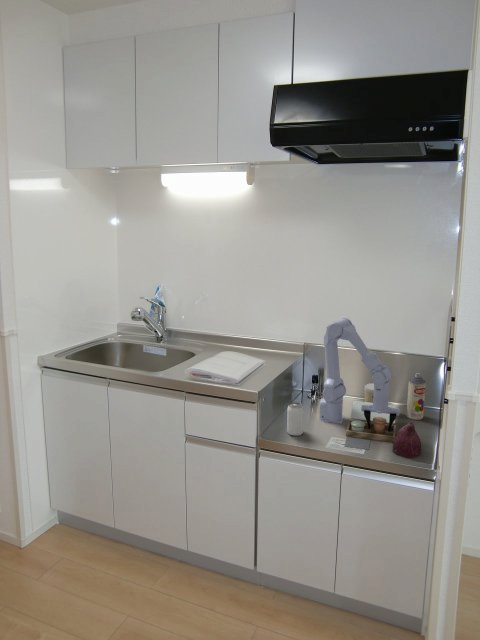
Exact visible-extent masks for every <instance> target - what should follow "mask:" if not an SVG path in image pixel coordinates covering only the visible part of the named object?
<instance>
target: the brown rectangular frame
mask: <svg viewBox="0 0 480 640" xmlns="http://www.w3.org/2000/svg"><path fill="white" fill-rule="evenodd" d="M352 421H357V420H356V419H349V420H348V422H347V426H346V429H345V436H346V437H351V438H359V439H366V440H374V441H380V442H381V441H382V442H388V443H389V442H390V443H394V440H395V437H396V434H397V432H396V429H397V425H395V424H392V426H391V429H390V432H388V428H389V423H385V434H383V435H381V434H375V433H374V432H373V429H374V422H373V421H370V422H371V426H370V429H368V424H367V421H365V420H361V421H362V422H364V423H365V426H364V432H357V431H352V425H351V422H352Z"/></svg>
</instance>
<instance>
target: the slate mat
mask: <svg viewBox="0 0 480 640" xmlns="http://www.w3.org/2000/svg"><path fill="white" fill-rule="evenodd" d="M370 443H371V439H365V438H357V437H350V436H346V439H345V442H344V447H345V448H353V449H360V450H367V451H368V450H370Z"/></svg>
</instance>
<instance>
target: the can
mask: <svg viewBox="0 0 480 640" xmlns="http://www.w3.org/2000/svg"><path fill="white" fill-rule="evenodd" d="M286 412H287V413H286V414H287V416H286V417H287V418H286V419H287V420H286V422H287V424H286V425H287V426H286V431H287V434H289V435H290V436H293V437H298V436H302V435H303V433H304V415H305V414H304V412H305V411H304V407H303V404H302V403H300V402H295V401H294V402H290V403H289V404H288V406H287V410H286Z"/></svg>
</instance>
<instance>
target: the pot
mask: <svg viewBox="0 0 480 640" xmlns="http://www.w3.org/2000/svg"><path fill="white" fill-rule="evenodd" d="M372 423H374V429H373V432H374V433H375V434H381V435H383V434H385V424H387V423H386V419H385V418H382V417H375V418H373V421H372Z"/></svg>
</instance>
